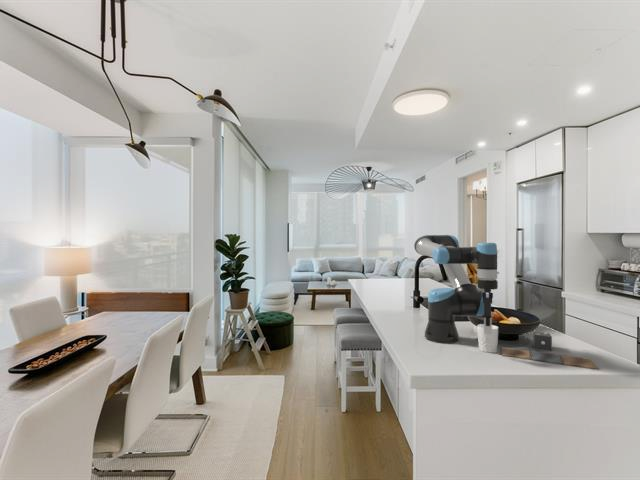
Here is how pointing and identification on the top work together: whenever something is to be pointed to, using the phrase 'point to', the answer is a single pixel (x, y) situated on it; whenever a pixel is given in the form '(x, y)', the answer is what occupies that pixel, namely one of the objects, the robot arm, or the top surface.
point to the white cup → (487, 339)
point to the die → (542, 341)
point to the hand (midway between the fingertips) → (488, 329)
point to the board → (549, 358)
